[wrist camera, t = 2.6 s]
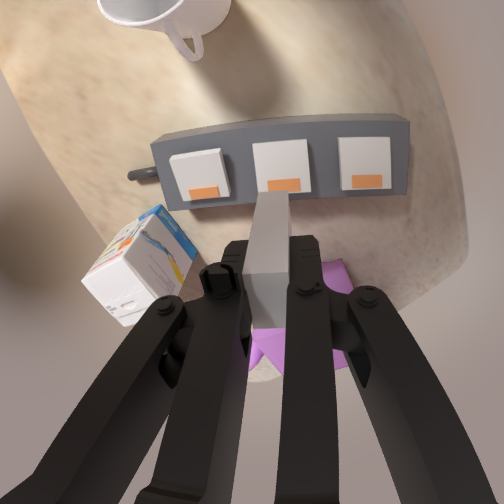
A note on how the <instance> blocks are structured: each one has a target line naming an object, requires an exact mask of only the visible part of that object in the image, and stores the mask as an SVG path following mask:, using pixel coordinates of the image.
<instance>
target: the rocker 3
mask: <svg viewBox="0 0 504 504" xmlns="http://www.w3.org/2000/svg"><path fill="white" fill-rule="evenodd" d="M337 140H338V153H339V168H340V187H341V189H342V190H360V189H391V151H390V137H337Z"/></svg>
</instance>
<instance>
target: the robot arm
mask: <svg viewBox="0 0 504 504" xmlns="http://www.w3.org/2000/svg"><path fill="white" fill-rule="evenodd" d="M199 276H200V280H201V283H202V286H203V289H204V292H205V293H204V296H203V297H201V298H199V299H196V300H192V301H188V302H184V303H183V301H182V299H181V298H180V297H178V296H176V295H166V296H162V297H160V298H158V299H156V300H155V301H154V302H153V303H152V304H151V305H150V306H149V307H148V309H147V310H146V311H145V313H144V314H143V315H142V317H141V318H140V319H139V321H138V322H137V323H136V324H135V326H134V327H133V329H132V330H131V331H130V333H129V334H128V335H127V336H126V338H125V339H124V341H123V342H122V343H121V345H120V346H119V347H118V349H117V350H116V351H115V353H114V354H113V356H112V357H111V358H110V360H109V361H108V362H107V364H106V365H105V367H104V368H103V369H102V371H101V372H100V373H99V375H98V376H97V378H96V379H95V380H94V382H93V383H92V385H91V386H90V388H89V389H88V390H87V392H86V393H85V395H84V396H83V398H82V399H81V401H80V402H79V403H78V405H77V407H76V408H75V409H74V411H73V412H72V414H71V415H70V417H69V418H68V420H67V422H66V423H65V424H64V426H63V427H62V429H61V430H60V432H59V433H58V435H57V436H56V438H55V439H54V441H53V442H52V444H51V446H50V447H49V449H48V450H47V452H46V453H45V455H44V456H43V458H42V460H41V461H40V463H39V464H38V466H37V468H36V469H35V471H34V472H33V474H32V475H31V476H29V477H28V478H27V479H26V480H25V481H23V482H22V483H20V484H19V485H18V486H17V487H15V488H14V489H12V490H11V491H10V492H9V493H7V494H6V495H5V496H3V497H2V498H1V499H0V504H118V503H119V502H120V500H121V498H122V496H123V494H124V493H125V491H126V489H127V487H128V486H129V484H130V482H131V480H132V479H133V477H134V475H135V473H136V472H137V470H138V468H139V466H140V464H141V463H142V461H143V459H144V457H145V456H146V454H147V452H148V450H149V448H150V447H151V445H152V443H153V441H154V440H155V438H156V436H157V434H158V432H159V431H160V429H161V427H162V425H163V423H164V421H165V420H166V418H167V416H168V415H169V416H168V420H167V424H166V427H165V431H164V435H163V439H162V442H161V446H160V450H159V454H158V458H157V462H156V465H155V469H154V474H153V477H152V480H151V483H150V484H149V485H148V486H147V487H145V488H144V489H142V490H141V491H140V492H139V494H138V495H137V497H136V500H135V502H134V504H230V503H231V497H232V490H233V483H234V475H235V468H236V461H237V453H238V446H239V439H240V432H241V424H242V417H243V409H244V402H245V394H246V386H247V378H248V371H249V363H250V355H251V347H252V334H251V324H253V329H270V328H286V331H285V356H284V379H283V397H282V414H281V430H280V445H279V457H278V470H277V482H276V494H275V501H274V504H340V503H339V452H338V424H337V423H338V421H337V402H336V386H335V371H334V359H333V349H335V350H340V351H343V354H344V356H345V359H346V361H347V364H348V366H349V368H350V371H351V373H352V376H353V378H354V380H355V383H356V385H357V388H358V390H359V392H360V395H361V397H362V400H363V402H364V405H365V407H366V410H367V412H368V415H369V418H370V420H371V423H372V425H373V428H374V430H375V433H376V436H377V438H378V441H379V444H380V446H381V448H382V451H383V454H384V457H385V459H386V462H387V465H388V468H389V470H390V473H391V476H392V479H393V482H394V484H395V487H396V490H397V493H398V496H399V499H400V502H401V504H498V503H497V502H496V499H495V497H494V494H493V492H492V489H491V487H490V484H489V482H488V479H487V477H486V474H485V472H484V470H483V467H482V465H481V463H480V461H479V459H478V456H477V454H476V452H475V450H474V448H473V445H472V443H471V441H470V439H469V437H468V435H467V433H466V431H465V429H464V427H463V425H462V423H461V421H460V419H459V417H458V415H457V413H456V411H455V409H454V407H453V405H452V403H451V402H450V400H449V398H448V396H447V394H446V392H445V390H444V389H443V387H442V385H441V383H440V382H439V380H438V378H437V376H436V374H435V373H434V371H433V369H432V368H431V366H430V364H429V363H428V361H427V359H426V357H425V355H424V354H423V352H422V350H421V349H420V347H419V346H418V344H417V342H416V341H415V339H414V337H413V336H412V334H411V333H410V331H409V329H408V328H407V326H406V325H405V323H404V321H403V320H402V318H401V317H400V315H399V314H398V312H397V311H396V309H395V307H394V306H393V304H392V303H391V301H390V300H389V298H388V297H387V295H386V294H385V293H384V292H383V291H382V290H381V289H378V288H376V287H373V286H368V285H367V286H359V287H357V288H355V289H353V290H352V291H351V292H350V293H349V294H345V293H340V292H336V291H334V290H332V289H330V288H329V287H328V286H327V285H326V284H325V282H324V279H323V272H322V265H321V257H320V250H319V243H318V241H317V239H316V238H315V237H314V236H313V235H304V236H292V230H291V218H290V207H289V197H288V190H280V191H268V192H258V197H257V202H256V207H255V212H254V217H253V222H252V227H251V232H250V237H249V240H239V241H231V242H230V243H229V244H228V245H227V246H226V248H225V250H224V253H223V257H222V260H221V262H217V263H213V264H211V265H208V266H206V267H205V268H204V269H203V270H202V271H201V272H200V274H199Z"/></svg>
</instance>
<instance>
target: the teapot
mask: <svg viewBox="0 0 504 504" xmlns="http://www.w3.org/2000/svg"><path fill="white" fill-rule="evenodd" d="M321 265H322V272H323V279H324V282H325V284H326V285H327V286H328V287H329V288H330V289H332V290H334V291H336V292H340V293H345V294H349V293H350V292H351V291H352V290H353V289H355V288H353V285H352V283H351V280H350V278H349V276H348V273H347V271H346V268H345V266H344V263H343V261H342V259H339V260H336V261H333V262H330V263H328V262H323V263H321ZM285 331H286V328H270V329H253V335H252V340H253V342H252V347H251V355H250V363H249V371H250V370H252V369H253V368H254V367H255V366H256V365H257V364H258V362H259V361H260V360H261V358H262V356H263V355H264V354H265V356H266V357H267V358H268V359H269V360H270V361H271V363H272V364H273V365H274V366H275V367H276V368H277V370H278V371H279V372H280V373H281V374H282V375H283V376H284V356H285ZM333 359H334V370H337V369H341V368H344V367H348V364H347V361H346V359H345V356H344V354H343V351H340V350H335V349H333Z"/></svg>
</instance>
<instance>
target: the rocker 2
mask: <svg viewBox="0 0 504 504" xmlns="http://www.w3.org/2000/svg"><path fill="white" fill-rule="evenodd" d="M252 146H253V154H254V162H255V171H256V179H257V187H258V192H268V191H280V190H288V193H302V192H311V185H310V172H309V160H308V149H307V139H298V140H284V141H273V142H263V143H253V144H252Z"/></svg>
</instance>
